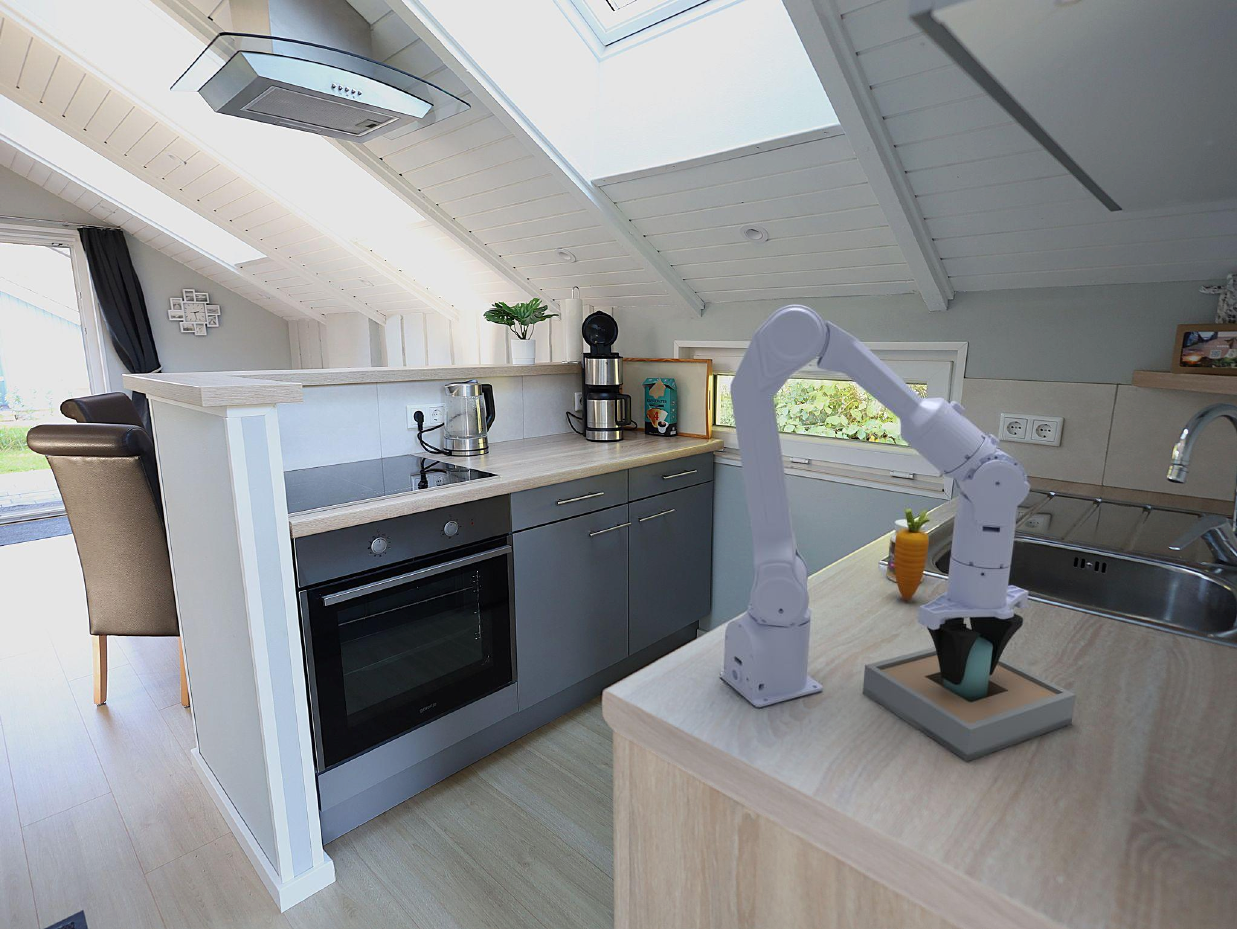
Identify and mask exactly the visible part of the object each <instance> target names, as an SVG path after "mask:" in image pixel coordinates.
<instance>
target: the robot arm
mask: <svg viewBox="0 0 1237 929" xmlns="http://www.w3.org/2000/svg"><path fill="white" fill-rule="evenodd" d="M817 357H818V359H817V362H816V366H817V369H820V370H821V369H822V370H826V371H831V372H836V373H841V374H844V375H845V376H847V377H848V378H850V379H851V380H852V381H853V382H854V383H856V384H857V385H858V386H859V387H861V388H862V389H863V390H864V391H865V392H866V393H868V394H869V395H870V396H871V397H873V398H874V399H875V400H876V401H878V402H879V403H880V404H881V405H882V406H883V407H884V408H886V409H887V410H888V411H890V412H891V413H892V414H894V416H896V417H897V418H898V419H899V421H900V422H899V423H900V438H901V439H902V440H903V441H904V442H905V443H907V445H909V446H910V447H911V448H912V449H914V450H915V451H916V452H917V453H918V454H920V455H921V456H922V457H923V458H924V459H925V460H926V461H927V462H928V463H929V464H931V466H933V467H934V468H935V469H937V470H938V471H939V472H940V473H941V474H942V475H944V477H946V478H949V479H950V478H951V479H952V480H953V483H954V485H955V486H956V488H957V489H961V490H962V491H963V492H962V491H959V492H958V497H957V504H956V505H957V507H956V512H955V515H954V522H953V531H952V532H953V533H952V540H951V542H952V543H951V550H950V558H949V568H948V577H947V586H946V591H944V592H942V593H941V594H939V595H938V596H937V597H936V598H934V599H932V600H931V601H930V602H927V603H925V604H922V605H919V608H918V619H917V623H918V624H920V625H922V626H924V627H926V629H927V631H928V632H929V635H930V637H931V639H932V642H933V645H934V647H935V648H936V652H937V656H938V661H939V667H940V673H941V677H942V678H943V679H945V680H947V681H949V682H951V683H952V684H954V685H959V684H961V682H962V680H963V677H964V673H965V668H966V663H967V659H968V656H969V653H970V651H971V648H972V646H973V644H974V643H975V641H976V640H977V638H978V637H979V636H980V637H982V638H984V639H986V640H988V641H989V642H991V643H992V645H993V649H992V657H991V665H990V673H989V676H990V675H992V674H993V672H994V670H995V668H996V665H997V663H998V661H999V659H1000V658H1001V657H1002V655H1003V652H1004V650H1005V648H1006V647H1007V644H1008V643H1009V642H1010V640H1011V639H1012V638H1013V636H1014V635H1015V634H1016V632H1017V631H1019V629H1021V627H1022V626H1023V622H1024V618H1023V617H1022V616H1021V615H1020V614H1016V613H1015V610H1014V609H1012V608H1013V607H1016V608H1018V609H1023V608H1027V606H1028V599H1029V590H1026V589H1024V588H1021V587H1018V586H1016V585H1014V584H1013V585H1012V584H1011V585H1009V580H1010V574H1011V573H1010V572H1011V564H1012V556H1013V549H1014V548H1013V547H1014V540H1015V533H1016V526H1017V523H1016V518H1017V517H1016V516H1017V509H1018V506H1019V505H1020V504H1022V502H1024V500H1025V499H1026V498H1027V496H1028V494H1029V493H1030V489H1031V487H1032V486H1031V484H1030V483H1029V482H1028V475H1027V474H1026V470H1025V467H1023V465H1022V463H1021V462H1019V461H1018V460H1017V459H1015V458H1014V457H1012V456H1011V455H1009V454H1008V453H1006V452H1004V451H1003V449H1002V447H1000V446H998V445H999V444H1000V443H1001V442H1000V440H999V438H997V437H996V436H995V435H994V434H992V433H991V434H988V435H987V434H986V433H984V432H983V431H982V430H981V429H979V428H978V427H977V426H976V425H975V424H973V423H972V422H971V421H970V420H969V419H968V418H967V417H965V416H964V415H963V413H964V412H965V411H966V408H964V406H962V405H961V404H960V403H958V402H957V401H956V400H952V401H951V402H950V403H949V401H947V400H946V399H945V398H943V397H931V398H929V397H928V398H924V397H922V396H920V395H919V394H918V393H917V392H916V391H915V390H914V389H912V387H910V386H909V385H908V384H907V383H906V382H905V381H904V380H903V379H902V378H901V377H899V376H898V375H897V374H896V373H895V372H894V371H893V370H892V369H891V368H890V367H889V366H888V365H886V364H885V363H884V362H883V361H882V360H881V359H880V358H879V357H878V356H877V355H876V354H874V353H873V352H872V351H871V350H870V349H869V348H868V347H867V346H866V345H864V344H863V343H862V342H861V341H860V339H858V338H856V337H855V336H853V335H852V334H850V333H848V332H847V331H845V330H843V329H842V328H841V327H839V326H837V325H836V324H834V323H832V322H831V321H829V320H825V321H823V320H822V318H821V316H820V315H819V313H817V311H815V310H813V309H812V308H810V307H808V306H805V305H802V304H789V305H786V306H785V305H784V306H783V307H780V308H778V309H777V310H775V311H774V312H773V313H772V314H770V316H768V318H767V319H766V320H765V321H764V322H763V323H762V324H761V325H760V326H759V327H758V328H757V329H756V330H755V332H754V333H753V335H752V338H751V339H750V342H749V345H748V347H747V349H746V351H745V354H744V355H743V357H742V360H741V361H740V362H739V366H738V367H737V370H736V372H735V374H734V376H733V378H732V381H731V383H730V390H729V391H730V392H729V393H730V397H731V398H730V399H731V406H732V411H733V418H734V426H735V430H736V432H735V433H736V437H737V445H738V450H739V456H740V464H741V470H742V477H743V482H744V483H743V484H744V488H745V496H746V502H747V507H748V508H747V509H748V515H749V520H750V521H749V522H750V528H751V533H752V540H753V541H752V542H753V543H752V544H753V547H752V548H753V568H754V573H755V575H754V581H753V585H752V587H751V590H750V601H749V602H748V605H747V611H746V612H745V613H744V614H743V615H742V616H740V617H738V618H736V619H734V620H732V621H730V622H729V623H727V626H726V628H725V631H724V632H725V633H724V647H723V648H724V649H723V650H724V653H723V670H722V671H720V672H719V676H720V677H721V679H723V680H724V681H725V682H726V683H727V684H729V685H730V686H731V687H732V688H734V689H735V691H737V692H738V693H740V695H741V696H743V697H744V698H745V699H746V700H747V701H748V702H749V703H751V704H752V705H753V706H755V707H757V708H762V707H766V706H770V705H773V704H777V703H780V702H784V701H788V700H791V699H795V698H798V697H802V696H806V695H809V694H814V693H817V692H821V691H823V685H822V684H821V683H820V682H818V681H817V680H815V679H814V678H812V677H811V676H809V675H808V666H809V665H808V664H809V652H810V651H809V649H810V634H811V632H810V631H811V620H812V619H811V618H812V613H811V612H812V611H811V609H810V608H809V604H810V603H809V602H810V596H809V591H808V579H809V567H808V565H807V562H806V561H805V558H803V556H802V555H801V553H800V552H799V549H798V547H797V540H796V535H795V532H794V528H793V521H792V513H791V509H790V508H791V506H790V502H789V492H788V487H787V479H786V473H785V466H784V459H783V452H782V445H781V439H780V431H779V425H778V417H777V412H776V411H777V410H776V406H775V405H776V404H775V396H776V395H777V393H779V391H780V389H782V387H783V386H784V385H785V384H786V382H788V381H789V379H790V376H792V375H793V374H795V373H796V372H797V371H799V370H801V369H802V368H804V367H805V366H806V365H808V364H810V363H812V361H814V360H815V359H816V358H817ZM965 619H969V623H970V628H969V627H967V623H966V622H965Z"/></svg>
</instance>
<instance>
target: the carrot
mask: <svg viewBox="0 0 1237 929" xmlns="http://www.w3.org/2000/svg"><path fill="white" fill-rule="evenodd" d="M927 513H928V510H926V509H924V510H922V512H921V513H920V514H919V516H918V519H916V520H915V517H914V514H913V513H912V509H911V508H906V509H905V518H906V520H907V525H908V529H903V530H900V531H899V532H898V533H897V536H896V539H895V557H894V565H895V575H896V582H895V583H896V584H897V587H898V591H899V592H900V595H901V597H902V599H903V600H904V602H908V601H910V600H911V599H912V598H913V596H914V595H915V593H916V592H917V590H918V588H919V586H920V585H921V582H922V581H921V578H922V575H923V576H924V571H925V568H926V564H927V557H928V551H929V545H930V544H929V543H930V537H929V535H928V533H926V532H922V531H919V529H920V528H921V526H922V525H923V524H926V523H929V522H931V519H930V517H926V515H927ZM920 581H921V582H920Z"/></svg>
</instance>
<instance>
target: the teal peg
mask: <svg viewBox="0 0 1237 929" xmlns="http://www.w3.org/2000/svg"><path fill="white" fill-rule="evenodd" d="M992 649H993V645H992V643H991V642H989V641H988V640H986V639H984V638H982V637H980V636H979V637H978V638H977V640H976V641H975V643H974V644H973V646H972V648H971V651H970V653H969V656H968V659H967V663H966V668H965V673H964V677H963V680H962V682H961V684H959V685H954V684H952V683H951V682H949V681H947V680H945V679H943V687H944V688H946V689H947V690H949V691H951V692H953V693H954V694H956V695H958V696H959V697H961V698H963V699H965V700H966V701H968V702H974V701H977V700H980V699H984V698H986V697H987V689H988V681H989V673H990V665H991V657H992Z"/></svg>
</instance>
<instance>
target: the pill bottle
mask: <svg viewBox="0 0 1237 929" xmlns="http://www.w3.org/2000/svg"><path fill="white" fill-rule="evenodd" d="M925 524H926V523H924V524H923V525H922V526H921V528H920V529H919V531H922V532H924V533H926V525H925ZM893 528H894V531H895V532H894V533H892V534H891V536H890V537H889V546H888V547H889V548H888V558H887V566H886V567H887V568H886V577H887V578H888V579H889V580H891V581H892V582H894V583H897V582H896V575H895V565H894V557H895V539H896V536H897V533H898V532H899V531H900V530H903V529H908V525H907V520H906V519H905V518H904V519H897V520H895V521H894V526H893ZM923 577H924V574H923V575H922V578H921V581H920V583H921V582H922V581H923Z"/></svg>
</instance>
